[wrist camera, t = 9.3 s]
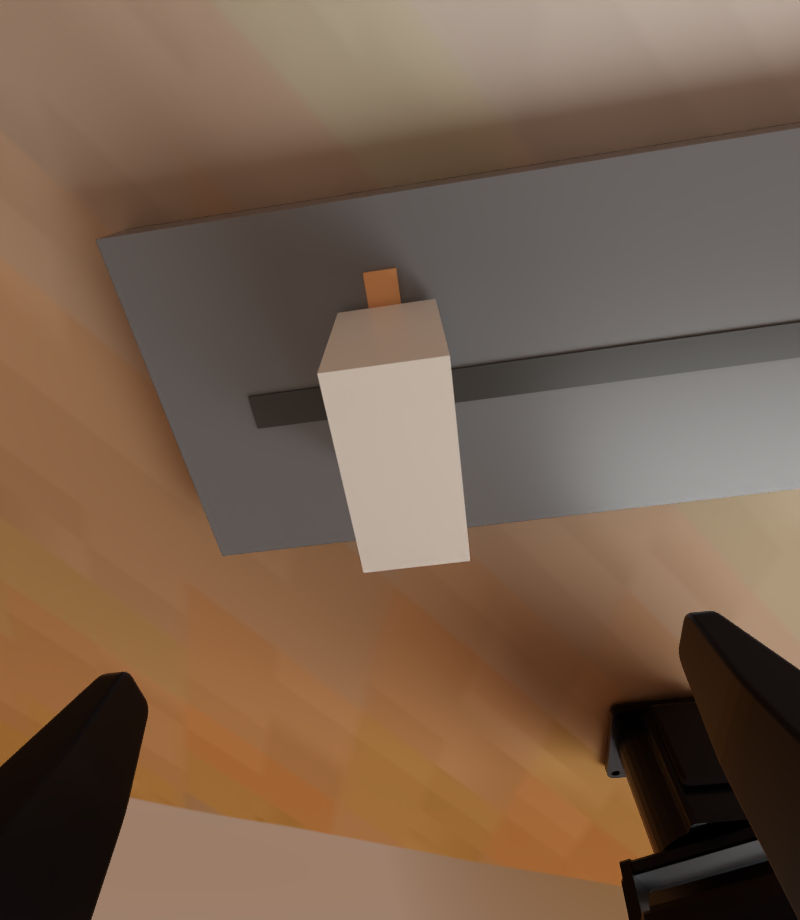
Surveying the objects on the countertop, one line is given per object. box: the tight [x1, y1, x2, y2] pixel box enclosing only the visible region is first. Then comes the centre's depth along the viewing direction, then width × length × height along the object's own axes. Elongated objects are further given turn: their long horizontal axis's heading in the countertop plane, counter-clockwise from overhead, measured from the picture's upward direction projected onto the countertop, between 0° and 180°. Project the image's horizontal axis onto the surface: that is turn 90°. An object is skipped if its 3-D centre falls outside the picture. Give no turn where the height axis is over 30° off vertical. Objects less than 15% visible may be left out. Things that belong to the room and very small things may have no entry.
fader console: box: [96, 122, 800, 556], centre depth 18 cm, size 12×30×2 cm, turn 98°
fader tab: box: [317, 299, 470, 573], centre depth 16 cm, size 6×3×5 cm, turn 8°
